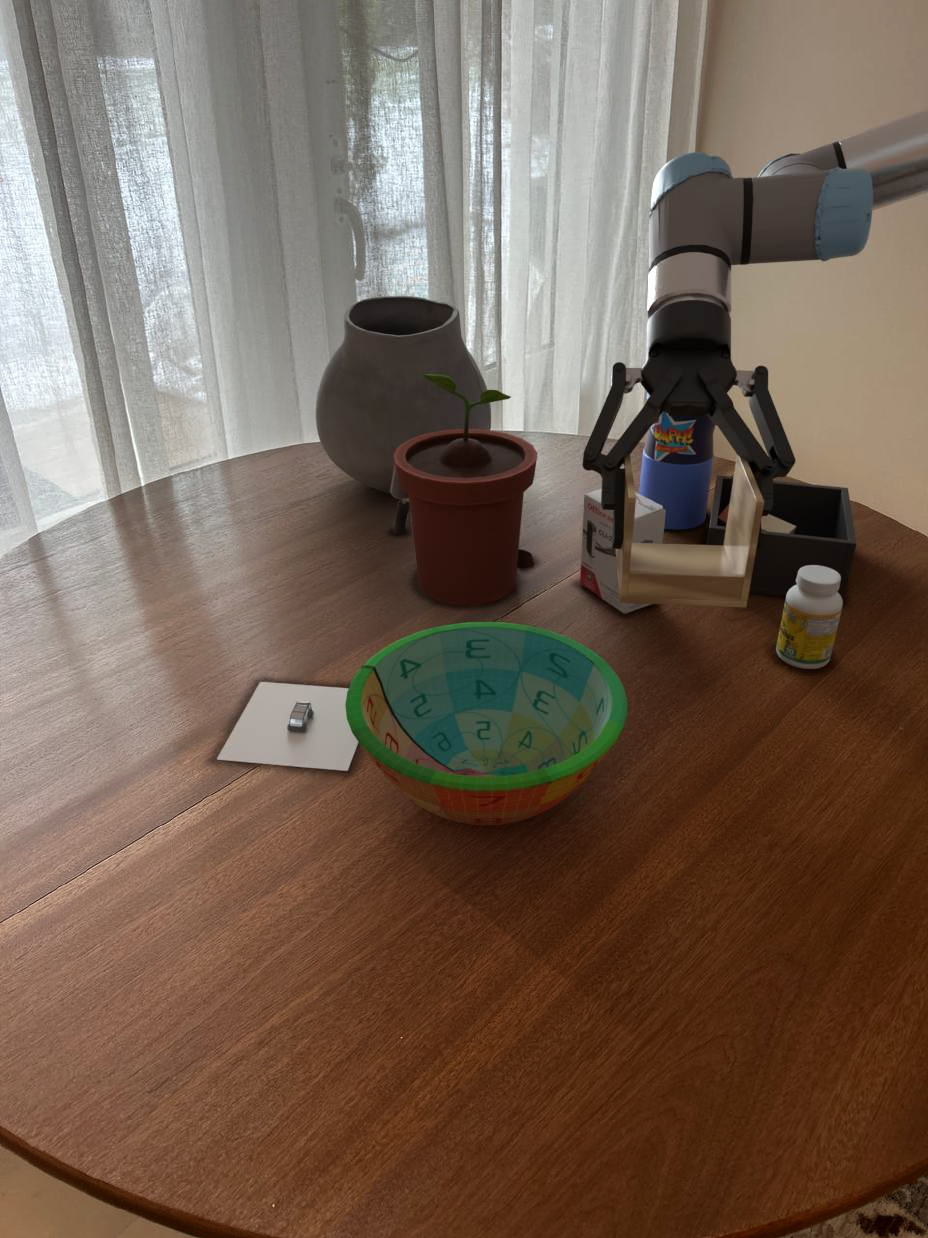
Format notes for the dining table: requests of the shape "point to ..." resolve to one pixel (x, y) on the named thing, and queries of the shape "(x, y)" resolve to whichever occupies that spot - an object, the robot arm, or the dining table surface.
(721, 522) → the terracotta block
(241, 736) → the white square sheet
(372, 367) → the ceramic pot
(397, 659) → the bowl
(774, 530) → the cream block
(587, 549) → the ink box
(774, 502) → the basket
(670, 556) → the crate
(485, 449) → the potted plant
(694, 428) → the water bottle
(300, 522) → the dining table surface
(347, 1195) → the dining table surface
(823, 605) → the supplement bottle
